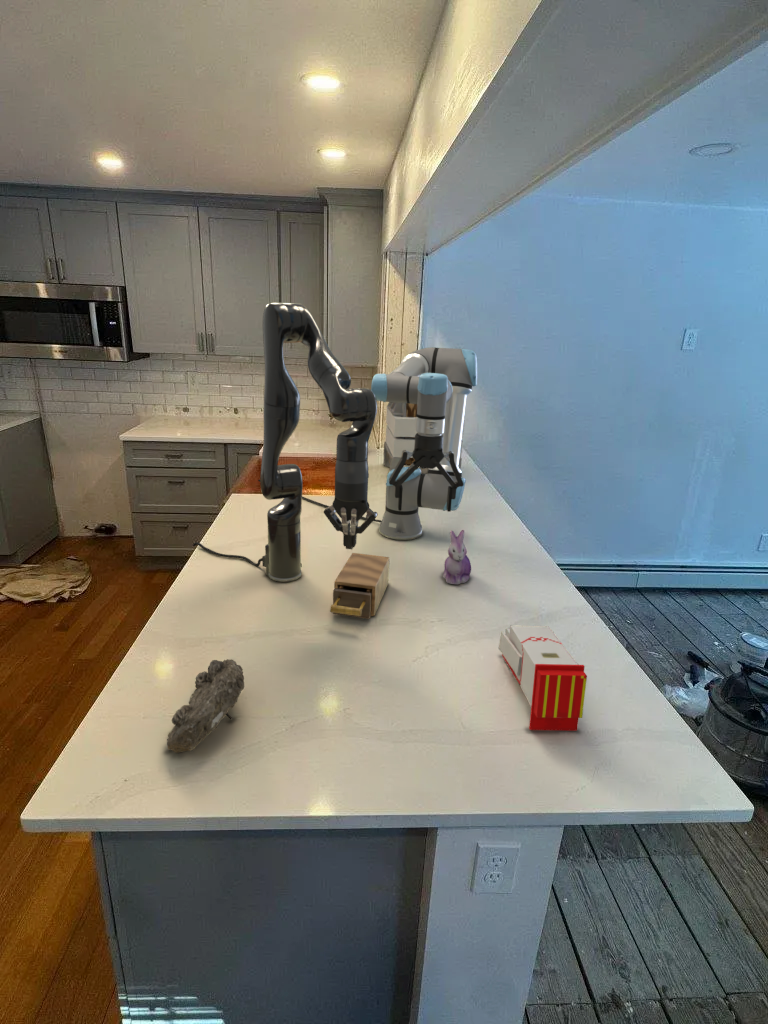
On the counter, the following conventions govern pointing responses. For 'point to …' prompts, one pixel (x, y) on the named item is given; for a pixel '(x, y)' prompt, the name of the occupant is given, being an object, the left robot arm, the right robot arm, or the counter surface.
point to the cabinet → (366, 575)
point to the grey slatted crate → (402, 433)
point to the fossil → (206, 705)
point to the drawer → (352, 601)
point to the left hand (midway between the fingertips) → (349, 547)
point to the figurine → (457, 560)
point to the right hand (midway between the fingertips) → (424, 509)
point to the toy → (545, 676)
